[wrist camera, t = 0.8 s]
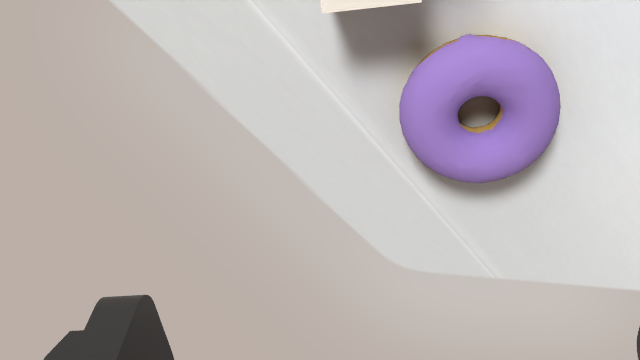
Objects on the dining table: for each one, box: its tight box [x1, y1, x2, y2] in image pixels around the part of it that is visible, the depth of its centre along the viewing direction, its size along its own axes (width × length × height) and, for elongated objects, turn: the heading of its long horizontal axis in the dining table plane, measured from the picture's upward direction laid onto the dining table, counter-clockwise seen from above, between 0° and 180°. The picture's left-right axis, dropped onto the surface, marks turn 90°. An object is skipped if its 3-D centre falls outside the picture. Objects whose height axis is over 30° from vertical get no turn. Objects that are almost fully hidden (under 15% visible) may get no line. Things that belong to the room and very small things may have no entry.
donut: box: [399, 34, 560, 183], centre depth 37 cm, size 10×9×5 cm
